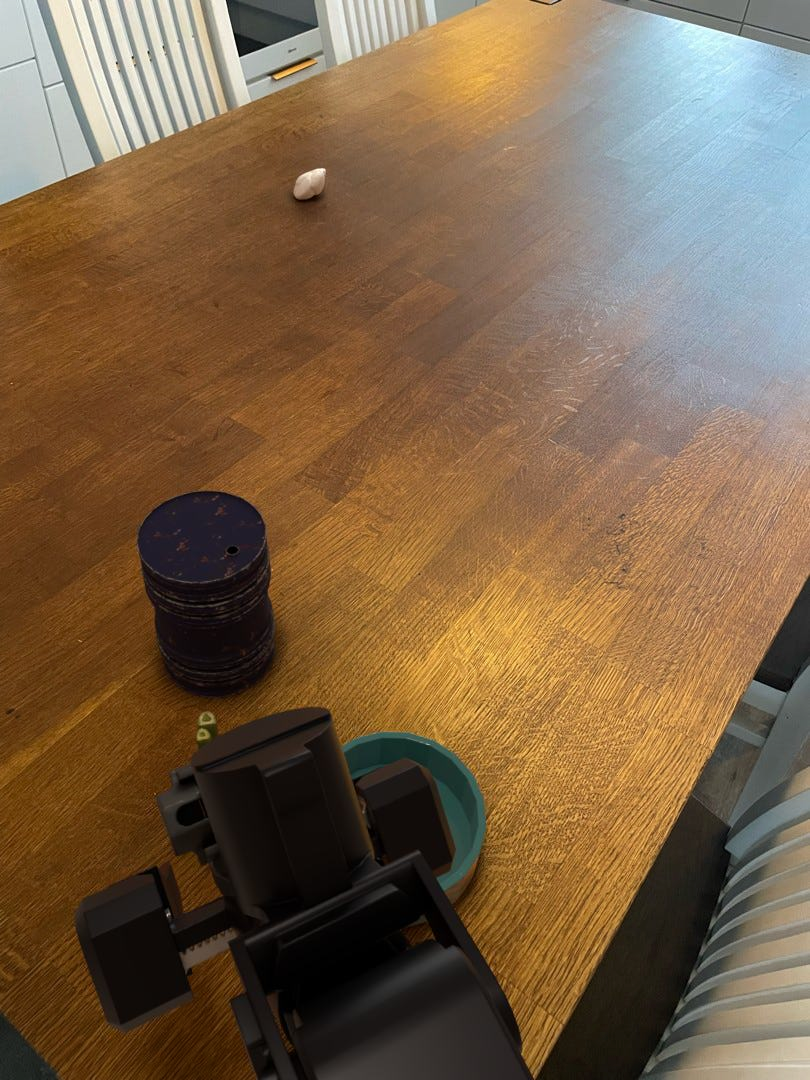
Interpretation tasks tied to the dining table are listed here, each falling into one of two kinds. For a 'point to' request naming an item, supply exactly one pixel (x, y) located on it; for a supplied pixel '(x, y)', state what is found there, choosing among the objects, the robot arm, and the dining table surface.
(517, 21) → the dining table surface
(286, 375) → the dining table surface
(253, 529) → the dark blue cylinder
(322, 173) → the dumpling
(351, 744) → the pan
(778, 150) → the dining table surface
